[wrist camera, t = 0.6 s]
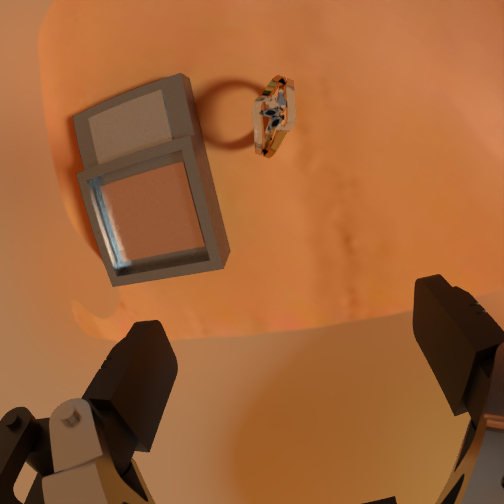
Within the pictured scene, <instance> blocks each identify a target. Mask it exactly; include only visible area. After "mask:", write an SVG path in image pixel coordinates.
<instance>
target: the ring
mask: <svg viewBox="0 0 504 504" xmlns="http://www.w3.org/2000/svg"><path fill="white" fill-rule="evenodd" d="M278 87H279V91H278V97H277V101H276V95H274V93H275V91H276V90H277V88H278ZM265 103H266V109H267V110H265V111H263V105H264V104H265ZM285 108H286V120H285V123H284V124H283V125H281V124H280V123H281V121H282V120H284V114H283V113H284V111H285ZM281 113H282V114H281ZM252 114H253V127H254V143H255V153H256V154H258V155H260V156H261V155H263V156H264V157H266V158H271V157H272V156H273V155H274V154H275V152H276V151H277V149H278V148H279V146H280V144H281V142H282V141H283V139H284V137H285V135H286V133H287V132H289V131H290V130H291V129H292V128H293V126H294V124H295V120H296V106H295V95H294V80H291V79H289V78H287V80H286V78H285V77H283V76H280V75H277V76H275V77H274V78H273V79H272V80H271V81H270V83H269V84H268V86H267V87H266V89H265V91H264V92H263V94H262V96H259V97H258V98H257V99H256V100H255V102H254V105H253V112H252ZM264 116H266V117H269V123H268V125H267V128H266V131H265V133H264V125H263V117H264ZM275 128H276V129H277V130H276V133H275V136H274V138H273V140H272V136H273V133H274V130H275ZM271 140H272V142H271ZM262 153H263V154H262Z"/></svg>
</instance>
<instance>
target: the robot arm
mask: <svg viewBox="0 0 504 504" xmlns="http://www.w3.org/2000/svg"><path fill="white" fill-rule="evenodd" d="M413 331H414V335H415V338H416V341H417V343H418V344H419V346H420V348H421V350H422V352H423V353H424V356H425V357H426V359H427V361H428V363H429V365H430V367H431V369H432V371H433V373H434V375H435V377H436V379H437V381H438V382H439V384H440V387H441V389H442V391H443V392H444V394H445V397H446V399H447V401H448V403H449V405H450V407H451V409H452V412H453V413H454V416H457V415H460V414H463V413H465V412H469V414H470V416H471V419H470V421H469V424H468V427H467V430H466V433H465V436H464V439H463V442H462V445H461V448H460V451H459V454H458V456H457V459H456V462H455V464H454V467H453V470H452V472H451V474H450V477H449V479H448V481H447V483H446V485H445V487H444V489H443V491H442V492H441V494H440V496H439V498H438V500H437V502H436V503H435V504H504V331H503V330H502V329H501V327H500V326H499V325H498V324H497V323H496V322H495V321H494V319H493V318H492V317H491V316H490V315H489V314H488V313H487V312H485V309H484V308H482V306H481V305H480V304H479V305H478V302H477V301H476V300H475V299H474V297H473V296H472V295H471V294H470V293H468V292H466V291H464V290H463V289H461V288H459V287H457V286H455V287H452V286H451V285H450V284H449V283H448V282H447V281H446V280H445V279H444V278H443V277H442V276H441V275H440V274H436V275H432V276H428V277H423V278H419V279H417V280H416V282H415V290H414V310H413ZM106 359H107V360H105V361H104V362H103V364H102V366H101V369H99V370H98V372H97V373H96V375H95V377H94V378H93V380H92V382H91V383H90V385H89V386H88V388H87V390H86V391H85V393H84V395H83V396H82V398H81V399H79V398H76V399H70V400H68V401H65V402H64V403H62V404H60V405H59V406H58V407H57V408H56V409H55V410H54V411H53V413H52V415H51V417H50V418H44V419H35V417H34V416H33V415H32V414H31V412H30V411H29V410H28V409H27V408H25V407H17V408H14V409H12V410H10V411H9V412H7V413H6V414H5V416H4V417H3V418H2V419H1V421H0V504H22V503H21V502H20V501H19V500H17V498H16V497H15V495H14V492H13V487H14V483H15V481H16V479H17V477H18V475H19V473H20V471H21V469H22V467H23V465H24V463H25V461H26V462H27V463H28V464H29V465H30V466H31V467H32V468H33V469H34V470H35V471H36V472H37V476H36V478H35V480H34V482H33V485H32V487H31V489H30V491H29V494H28V496H27V498H26V501H25V503H24V504H155V502H154V500H153V498H152V496H151V494H150V492H149V490H148V488H147V486H146V484H145V481H144V479H143V477H142V475H141V473H140V471H139V468H138V466H137V464H136V462H135V460H134V459H133V458H132V456H133V454H134V451H141V452H150V449H151V446H152V443H153V441H154V438H155V435H156V432H157V429H158V426H159V423H160V420H161V418H162V415H163V412H164V409H165V406H166V403H167V401H168V398H169V395H170V392H171V390H172V387H173V384H174V381H175V379H176V376H177V371H178V364H177V360H176V356H175V354H174V352H173V349H172V347H171V345H170V342H169V340H168V338H167V336H166V333H165V331H164V329H163V326H162V324H161V323H160V322H159V321H158V320H151V321H141V322H135V323H134V324H133V326H132V328H131V329H130V331H129V332H128V334H127V335H126V337H125V338H123V339H122V340H121V341H120V342H119V343H118V344H116V345H115V346H114V347H113V348H112V350H111V351H110V353H109V355H108V356H107V358H106ZM364 504H397V503H396V499H395V496H394V497H390V498H386V499H381V500H377V501H373V502H368V503H364Z"/></svg>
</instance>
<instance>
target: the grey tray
mask: <svg viewBox="0 0 504 504" xmlns="http://www.w3.org/2000/svg"><path fill="white" fill-rule="evenodd" d="M72 117H73V122H74V127H75V132H76V137H77V142H78V146H79V151H80V155H81V159H82V163H83V167H84V171H82V172H79V173H77V178H78V182H79V186H80V190H81V193H82V197H83V200H84V204H85V207H86V211H87V214H88V217H89V220H90V224H91V227H92V230H93V233H94V236H95V239H96V242H97V245H98V248H99V251H100V254H101V257H102V259H103V262H104V265H105V268H106V270H107V273H108V276H109V278H110V281H111V283H112V286H113V287H115V286H121V285H128V284H134V283H140V282H146V281H153V280H159V279H165V278H171V277H177V276H183V275H190V274H196V273H202V272H208V271H214V270H220V269H224V266H225V264H226V261H227V259H228V256H229V253H230V248H229V244H228V240H227V236H226V232H225V228H224V224H223V219H222V215H221V211H220V207H219V203H218V199H217V195H216V191H215V187H214V182H213V178H212V174H211V170H210V166H209V161H208V157H207V153H206V149H205V144H204V140H203V136H202V131H201V127H200V123H199V118H198V114H197V110H196V105H195V101H194V96H193V92H192V87H191V83H190V79H189V78H188V77H186V76H185V75H183V74H181V73H179V74H176V75H173V76H170V77H167V78H164V79H161V80H158V81H155V82H152V83H149V84H147V85H144V86H141V87H139V88H136V89H133V90H131V91H128V92H126V93H123V94H121V95H118V96H116V97H114V98H111V99H109V100H107V101H104V102H102V103H100V104H98V105H95V106H93V107H91V108H89V109H87V110H85V111H83V112H81V113H78V114H76V115H74V116H72Z"/></svg>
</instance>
